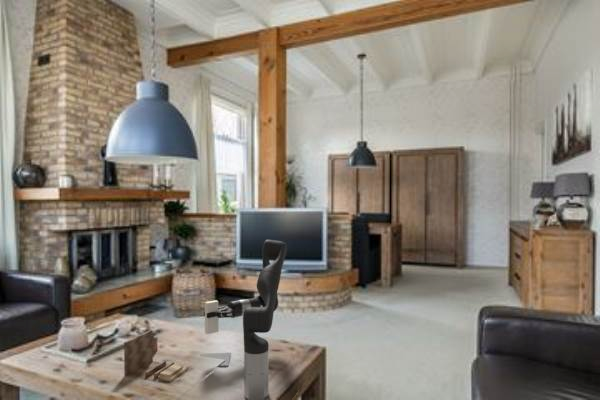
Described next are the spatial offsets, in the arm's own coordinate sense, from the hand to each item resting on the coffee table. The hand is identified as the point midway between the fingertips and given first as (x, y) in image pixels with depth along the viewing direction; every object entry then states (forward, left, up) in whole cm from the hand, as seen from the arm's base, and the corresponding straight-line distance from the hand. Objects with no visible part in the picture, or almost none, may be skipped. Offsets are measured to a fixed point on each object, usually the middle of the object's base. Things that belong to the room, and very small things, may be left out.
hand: (205, 314), depth 182 cm
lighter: (+13, +29, -22) cm, 38 cm away
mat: (+2, -3, -22) cm, 22 cm away
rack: (-10, +18, -22) cm, 30 cm away
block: (+2, -2, -8) cm, 9 cm away
